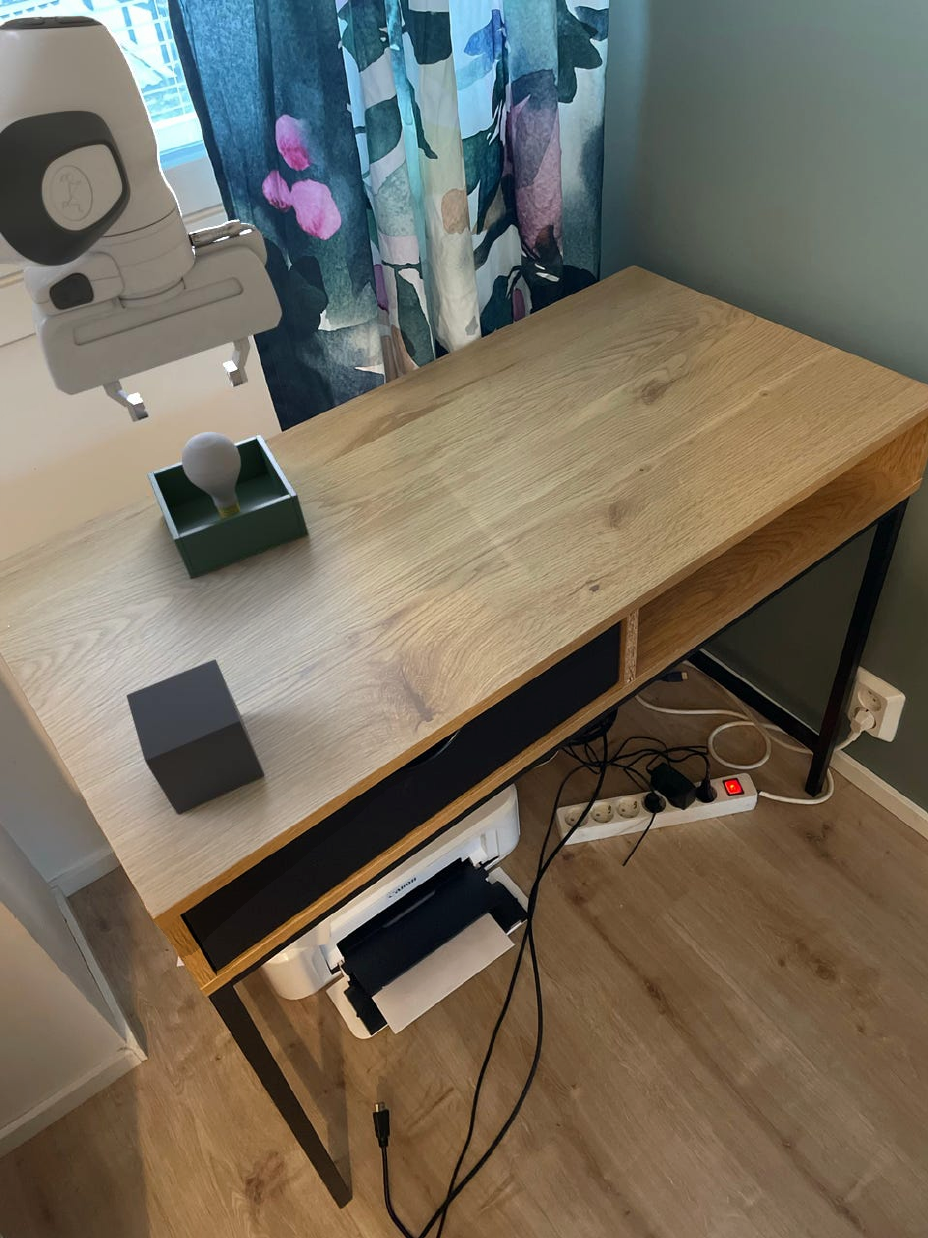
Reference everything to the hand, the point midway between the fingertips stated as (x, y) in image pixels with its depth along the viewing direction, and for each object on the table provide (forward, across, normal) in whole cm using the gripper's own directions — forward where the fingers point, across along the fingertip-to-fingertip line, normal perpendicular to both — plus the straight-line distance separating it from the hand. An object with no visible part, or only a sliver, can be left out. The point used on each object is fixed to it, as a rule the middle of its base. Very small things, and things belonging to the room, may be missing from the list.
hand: (190, 399), depth 82 cm
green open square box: (+15, 0, 0) cm, 15 cm away
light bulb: (+14, 0, 0) cm, 14 cm away
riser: (+14, +11, +28) cm, 34 cm away
